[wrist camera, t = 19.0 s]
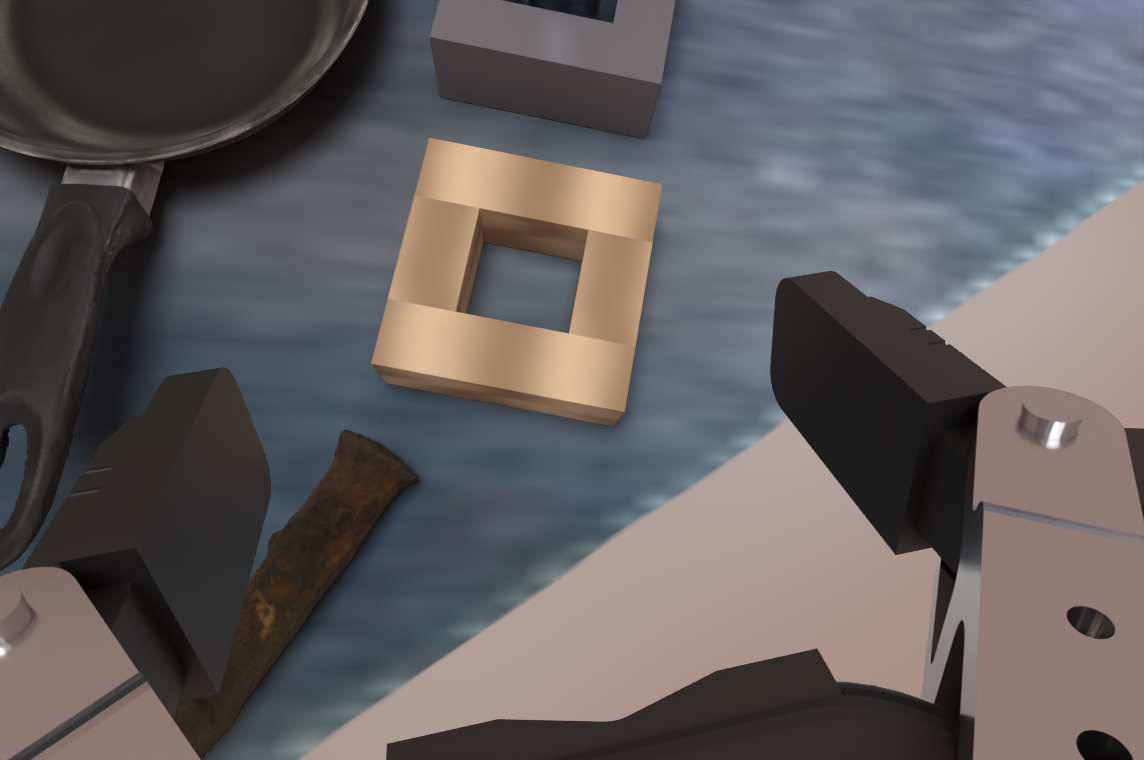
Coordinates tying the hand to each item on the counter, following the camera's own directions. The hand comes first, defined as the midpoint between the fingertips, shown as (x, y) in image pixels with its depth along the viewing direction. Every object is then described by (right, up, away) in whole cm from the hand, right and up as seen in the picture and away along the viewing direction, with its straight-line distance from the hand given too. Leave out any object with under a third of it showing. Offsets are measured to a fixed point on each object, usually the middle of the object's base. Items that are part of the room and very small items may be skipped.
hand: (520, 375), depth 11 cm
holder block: (0, +21, +32) cm, 38 cm away
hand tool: (-13, -12, +24) cm, 30 cm away
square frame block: (-2, +4, +28) cm, 29 cm away
